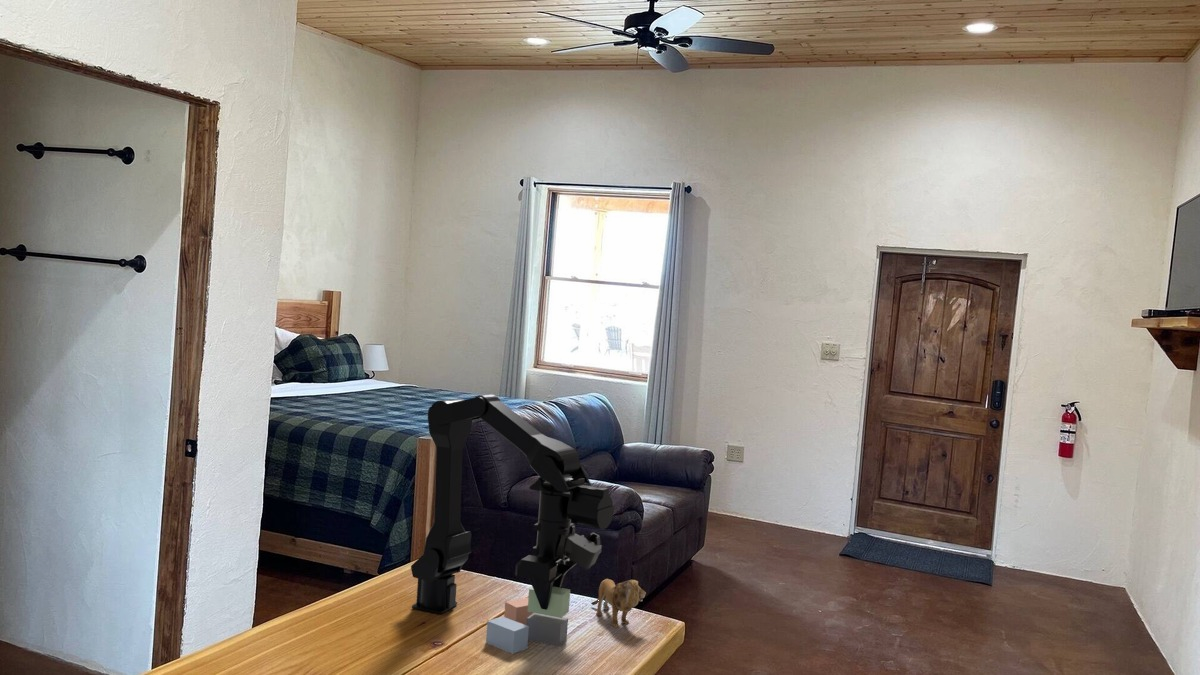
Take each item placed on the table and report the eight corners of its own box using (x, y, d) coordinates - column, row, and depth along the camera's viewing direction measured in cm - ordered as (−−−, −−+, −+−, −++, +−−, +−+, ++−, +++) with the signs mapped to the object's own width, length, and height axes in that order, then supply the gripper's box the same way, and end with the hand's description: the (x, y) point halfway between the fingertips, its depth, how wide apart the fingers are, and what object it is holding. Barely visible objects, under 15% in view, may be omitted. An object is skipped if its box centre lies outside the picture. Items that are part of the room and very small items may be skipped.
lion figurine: (647, 629, 173) (650, 581, 173) (624, 633, 170) (627, 585, 170) (601, 605, 185) (604, 560, 185) (579, 608, 182) (582, 563, 182)
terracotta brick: (515, 629, 169) (516, 607, 168) (503, 623, 171) (505, 601, 171) (543, 622, 173) (544, 601, 173) (531, 617, 176) (532, 596, 175)
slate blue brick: (485, 643, 161) (487, 621, 160) (500, 638, 163) (502, 616, 163) (512, 654, 157) (514, 631, 156) (527, 649, 159) (528, 626, 159)
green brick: (527, 611, 163) (529, 589, 163) (535, 605, 167) (536, 583, 166) (561, 617, 161) (563, 595, 161) (568, 611, 165) (570, 589, 164)
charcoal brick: (525, 640, 163) (526, 618, 163) (533, 633, 167) (534, 612, 167) (559, 647, 161) (560, 624, 161) (566, 640, 165) (568, 618, 165)
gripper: (579, 536, 152) (572, 630, 152) (614, 514, 170) (608, 598, 170) (517, 526, 155) (510, 618, 156) (557, 506, 173) (551, 588, 174)
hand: (548, 605), depth 164 cm, fingers closed on green brick, 3 cm apart
